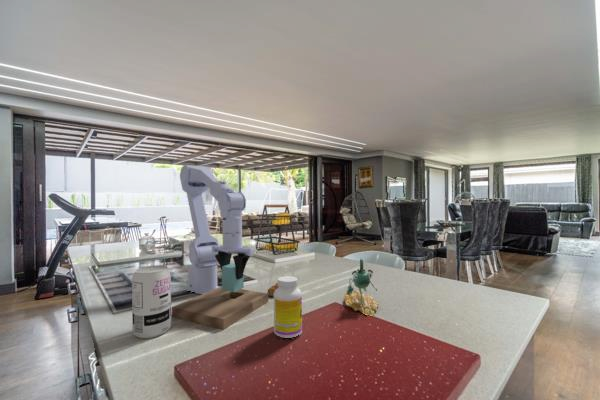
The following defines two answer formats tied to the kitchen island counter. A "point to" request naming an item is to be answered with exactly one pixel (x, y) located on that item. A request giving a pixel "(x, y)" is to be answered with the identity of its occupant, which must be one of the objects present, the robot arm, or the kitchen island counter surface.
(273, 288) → the pastry
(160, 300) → the supplement can
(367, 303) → the frog figurine
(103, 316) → the kitchen island counter surface
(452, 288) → the kitchen island counter surface
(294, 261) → the kitchen island counter surface
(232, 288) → the teal block
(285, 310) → the supplement bottle
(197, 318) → the walnut pocket plate
